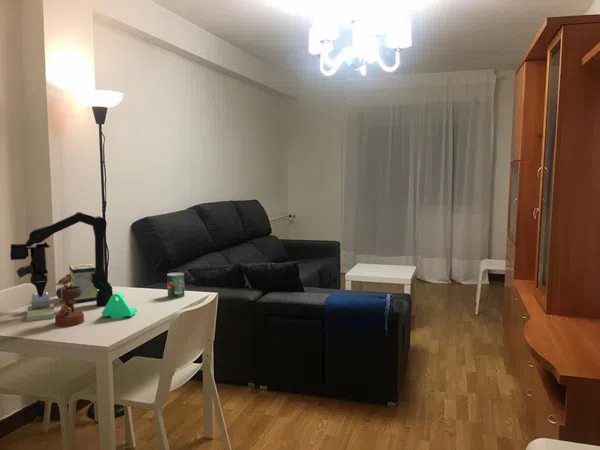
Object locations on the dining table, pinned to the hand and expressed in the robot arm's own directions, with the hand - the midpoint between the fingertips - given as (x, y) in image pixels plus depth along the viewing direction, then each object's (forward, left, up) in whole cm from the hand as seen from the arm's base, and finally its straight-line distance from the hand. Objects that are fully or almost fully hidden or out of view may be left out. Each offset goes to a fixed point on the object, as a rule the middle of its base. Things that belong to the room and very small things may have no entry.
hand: (40, 294), depth 225 cm
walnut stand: (0, 0, -7) cm, 7 cm away
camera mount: (-30, +22, -8) cm, 38 cm away
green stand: (0, +10, -7) cm, 12 cm away
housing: (0, 0, -5) cm, 5 cm away
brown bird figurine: (-11, +24, -8) cm, 27 cm away
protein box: (-18, -17, -8) cm, 26 cm away
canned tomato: (-58, -1, -8) cm, 58 cm away
